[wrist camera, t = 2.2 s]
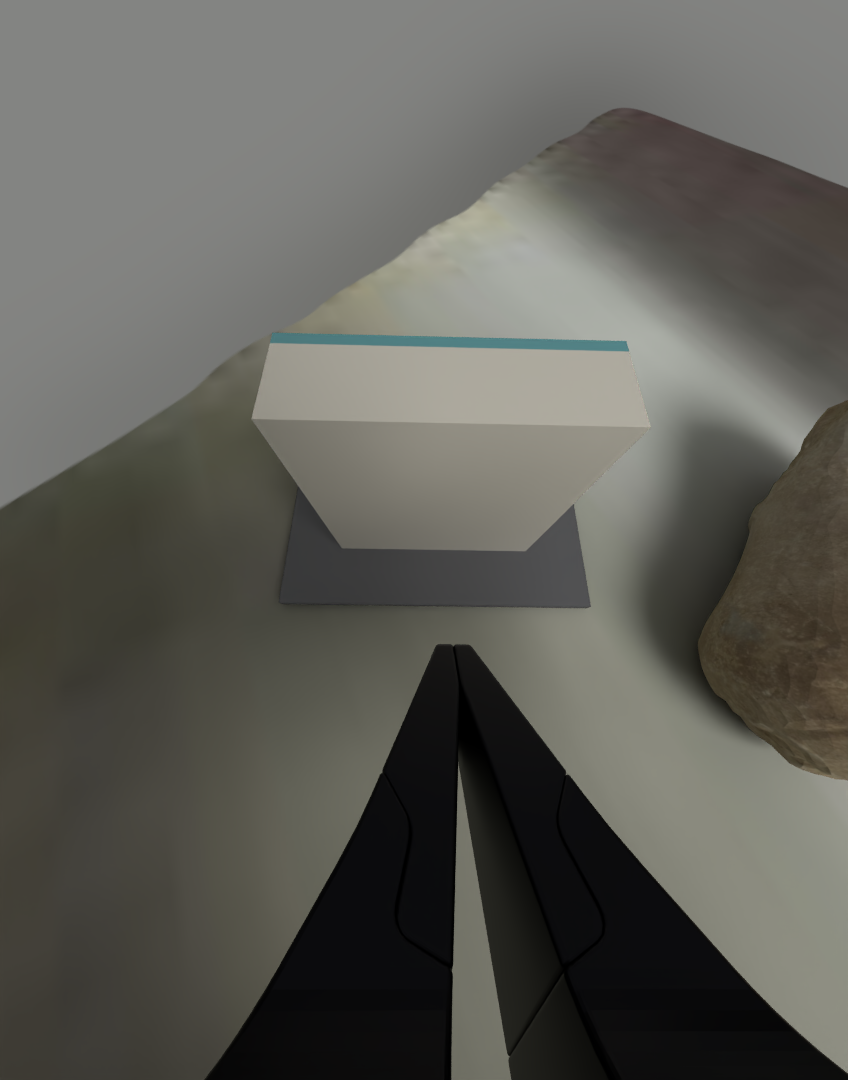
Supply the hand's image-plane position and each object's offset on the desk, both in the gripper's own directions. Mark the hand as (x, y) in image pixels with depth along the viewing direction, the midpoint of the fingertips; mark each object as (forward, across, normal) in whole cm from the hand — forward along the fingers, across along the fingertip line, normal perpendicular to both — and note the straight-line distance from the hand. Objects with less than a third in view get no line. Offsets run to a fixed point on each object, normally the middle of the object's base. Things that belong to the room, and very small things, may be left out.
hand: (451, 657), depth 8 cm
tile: (+11, 0, +1) cm, 11 cm away
